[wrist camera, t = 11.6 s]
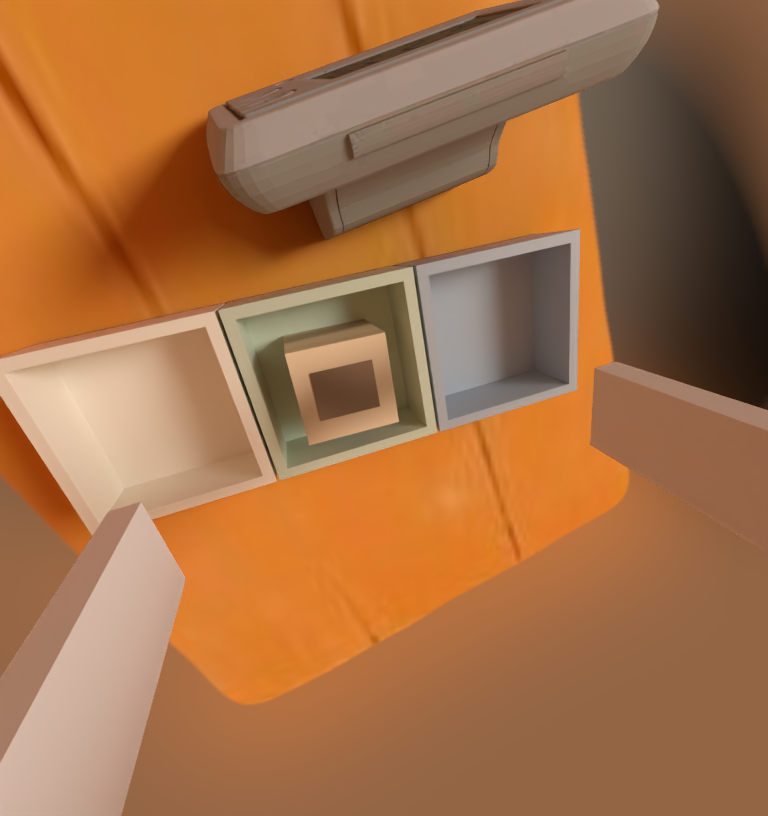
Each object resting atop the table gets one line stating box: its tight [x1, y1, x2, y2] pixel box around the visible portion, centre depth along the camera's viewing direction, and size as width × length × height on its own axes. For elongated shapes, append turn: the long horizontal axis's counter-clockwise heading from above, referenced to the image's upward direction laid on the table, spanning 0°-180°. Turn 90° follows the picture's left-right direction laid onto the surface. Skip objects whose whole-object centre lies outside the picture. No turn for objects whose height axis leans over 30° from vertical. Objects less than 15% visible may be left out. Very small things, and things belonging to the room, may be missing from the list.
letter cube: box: [283, 319, 399, 445], centre depth 21 cm, size 5×5×5 cm
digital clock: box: [206, 0, 659, 240], centre depth 16 cm, size 16×9×11 cm, turn 100°
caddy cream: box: [0, 303, 277, 536], centre depth 21 cm, size 10×10×4 cm
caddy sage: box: [218, 266, 437, 480], centre depth 22 cm, size 10×10×4 cm
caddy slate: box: [394, 229, 580, 432], centre depth 24 cm, size 10×10×4 cm
